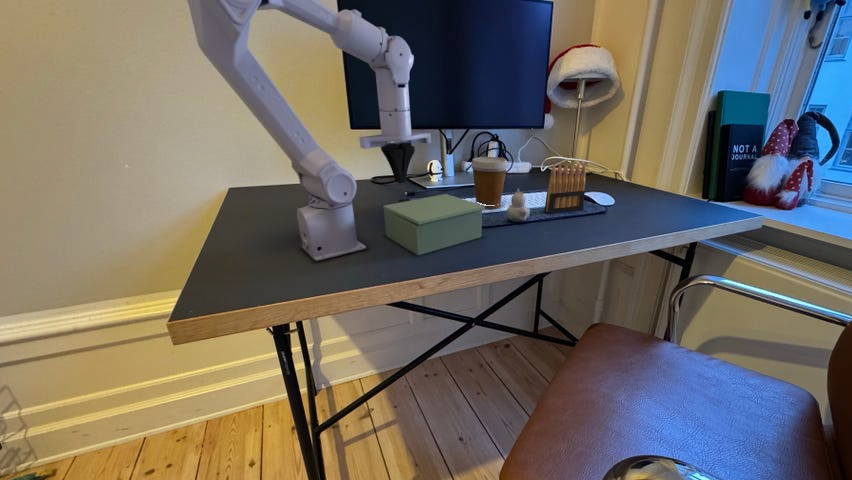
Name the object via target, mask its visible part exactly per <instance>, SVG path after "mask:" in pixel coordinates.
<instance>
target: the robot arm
mask: <svg viewBox="0 0 852 480" xmlns="http://www.w3.org/2000/svg"><path fill="white" fill-rule="evenodd" d="M186 2H187V4H188V8H189V12H190V16H191V21H192V25H193V29H194V32H195V38H196V42H197V46H198V47H199V49H200V50H201V52H202V53H203V55H204V56H205V58H207V60H208V61H209V62H210V63H211V65H212V66H213V67H214V68H215V70H216V71H217V72H218V73H219V74H220V76H221V77H222V78H223V80H225V82H226V83H227V85H229V87H230V88H231V90H233V91H234V93H235V94H236V95H237V96H238V98H239V99H240V100H241V101H242V102H243V104H244V105H245V106H246V107H247V109H248V110H249V111H250V112H251V114H252V115H253V116H254V117H255V119H257V120H258V122H259V123H260V124H261V126H262V127H263V128H264V130H265V131H266V132H267V133H268V135H269V136H270V137H271V138H272V140H274V142H275V143H276V144H277V146H279V148H280V149H281V150H282V151H283V153H284V154H285V155H286V156H287V157H288V159H289V160H290V161H291V168H292V170H293V171H294V172H295V173H296V175H297V177H298V180H299V184H300V187H301V188H302V190H303V191H304V192H305V193H306V194H307V195H308V196H309V197H308V205H306V206H304V207H299V208H297V210H296V220H297V224H298V230H299V234H300V239H301V244H302V246H301V247H302V250H304V251H305V252H306V253H307V254H308V255H309V256H310V258H311V259H313V260H314V261H315V262H319V261H324V260H327V259H332V258H335V257H340V256H343V255H347V254H351V253H355V252H359V251H363V250H366V249H367V246H366V245H365V244H363V243H362V242H360V241H359V240H358V237H357V229H356V222H355V221H356V220H355V215H354V208H353V207H354V206H353V199H354V198H355V196H356V193H357V189H358V188H357V180H356V178H355V176H354V175H353V174H352V173H351V172H350V171H349V170H346V169H345V168H343V167H341V165H339V164H338V162H337V161H336V159H335V158H333V157H332V156H331V155H330V154H329V153H328V152H326V151H325V150H324V149H323V148H321V146H320V145H319V143H318V142H317V141H316V139H315V138H314V137H313V135H312V134H311V132H310V131H309V130H308V128H307V127H306V125H305V124H304V123H303V121H302V120H301V118H300V117H299V116H298V115H297V114H296V112H295V111H294V109H293V108H292V106H291V105H290V104H289V102H288V101H287V99H286V98H285V97H284V96H283V94H282V93H281V91H280V90H279V89H278V87H277V86H276V84H275V83H274V81H273V80H272V79H271V78H270V76H269V75H268V73H267V72H266V71H265V70H264V68H263V67H262V65H261V64H260V63H259V62H258V60H257V59H256V57H255V56H254V55H253V53H252V51H251V50H250V49H249V46H248V42H249V41H248V40H249V33H250V27H251V20H252V18H253V17H254V15H255V14H256V12H257V11H268V10H276V11H278V12H281V13H284V14H285V15H287V16H290V17H292V18H294V19H296V20H298V21H300V22H303V23H305V24H306V25H308V26H311V27H312V28H314V29H317V30H319V31H322V32H323V33H325V34H328V35H329V36H330V39H331V40H332V42H333V44H334V46H335V47H336V48H337V49H339V50H341V51H343V52H346V53H347V54H349V55H352V56H353V57H355V58H357V59H359V60H361V61H363V62H365V63H367V64H368V66H369V67H370V68H371V69H372V70H373V71H374V72H375V79H376V82H375V83H376V91H377V100H378V101H377V102H378V110H379V121H380V133H381V134H374V135H373V134H372V135H368V136H367V135H366V136H365V135H364V136H359V137H358V138H359V139H358V140H359V144H360V145H359V146H360V147H359V148H360V149H364V150H368V149H371V148H380V150H381V152H382V153H383V155H384V157H385V159H386V160H387V162H388V164H389V167H390V169H391V171H392V175H393V178H394V182H395V183H398V184H404V183H406V182H407V175H408V170H409V167H410V163H411V161H412V158H413V156H414V154H415V151H416V147H415V146H414V145H417V144H432V134H431V133H430V132H412V124H411V123H412V121H411V109H410V108H411V106H410V93H409V81H410V71H411V69H412V68H413V65H414V59H415V57H414V54H413V53H412V51H411V48H410V46H409V44H408V43H407V41H406V40H405V39H404V38H402V37H401V36H398V35H390V36H389V35H388V33H387V32H386V31H387V30H386V28H384V27H382V26H375V25H374V24H372V23H371V22H369V21H367V20H366V19H364V18H363V17H362V12H360V11H359V10H357V9H351V10H349V9H342V10H341V11H338V12H337V11H335V10H334V9H332V8H331V7H329V6H327V4H324V3H323V2H321V1H320V0H186Z"/></svg>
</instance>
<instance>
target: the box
mask: <svg viewBox="0 0 852 480" xmlns="http://www.w3.org/2000/svg"><path fill="white" fill-rule="evenodd" d="M383 218H384V227H385V236H386V237H387V238H388V239H390V240H392V241H393V242H395V243H397V244H399V245H400V246H401V247H403V248H405V249H406V250H408V251H410V252H411V253H413V254H415V255H417V256H421V255H424V254H429V253H432V252H435V251H438V250H441V249H442V250H443V249H445V248H449V247H452V246H456V245H459V244H463V243H466V242H469V241H473V240H476V239H480V238H482V236H483V235H482V233H483V232H482V231H483V210H480V211H475V212H471V213H467V214H463V215H458V216H454V217H450V218H445V219H441V220H437V221H433V222H428V223H424V224H420V225H418V224H416V223H413V222H411V221H409V220H407V219H405V218H402V217H400V216H398V215H396V214H394V213H391V212H389V211H387V210H385V209H383Z"/></svg>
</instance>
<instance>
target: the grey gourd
mask: <svg viewBox="0 0 852 480" xmlns="http://www.w3.org/2000/svg"><path fill="white" fill-rule="evenodd" d="M510 202H511V204H510V205H509V206H508V207H507V209H506V218H507V219H509V220H510V221H512V222H515V223H519V222H524V221H526V220H527V219H528V218H529V217H530V213H531V210H530V208H529V207H527V206H526V205H525V204H526V197H525V194H524V192H523V191H520V188H519V187H517V191H515V192H514V194H513V195H512V196H511V201H510Z"/></svg>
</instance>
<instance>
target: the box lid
mask: <svg viewBox="0 0 852 480" xmlns="http://www.w3.org/2000/svg"><path fill="white" fill-rule="evenodd" d="M382 207H383V208H382V209H383V210H384V209H385V210H387V211H389V212H391V213H394V214H396V215H398V216H400V217H402V218H405V219H407V220H409V221H411V222H413V223H416V224H418V225H420V224H424V223H428V222H433V221H437V220H441V219H445V218H450V217H454V216H458V215H463V214H467V213H471V212H475V211H480V210H482V211H484V210H486V209H485V206H483V205H480V204H476V202H473V201H469V200H466V199H463V198H461V197H457V196H455V195H451V194H448V193H444V194H438V195H433V196H428V197H423V198H417V199H412V200H407V201H402V202H395V203H390V204H385V205H382Z"/></svg>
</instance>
